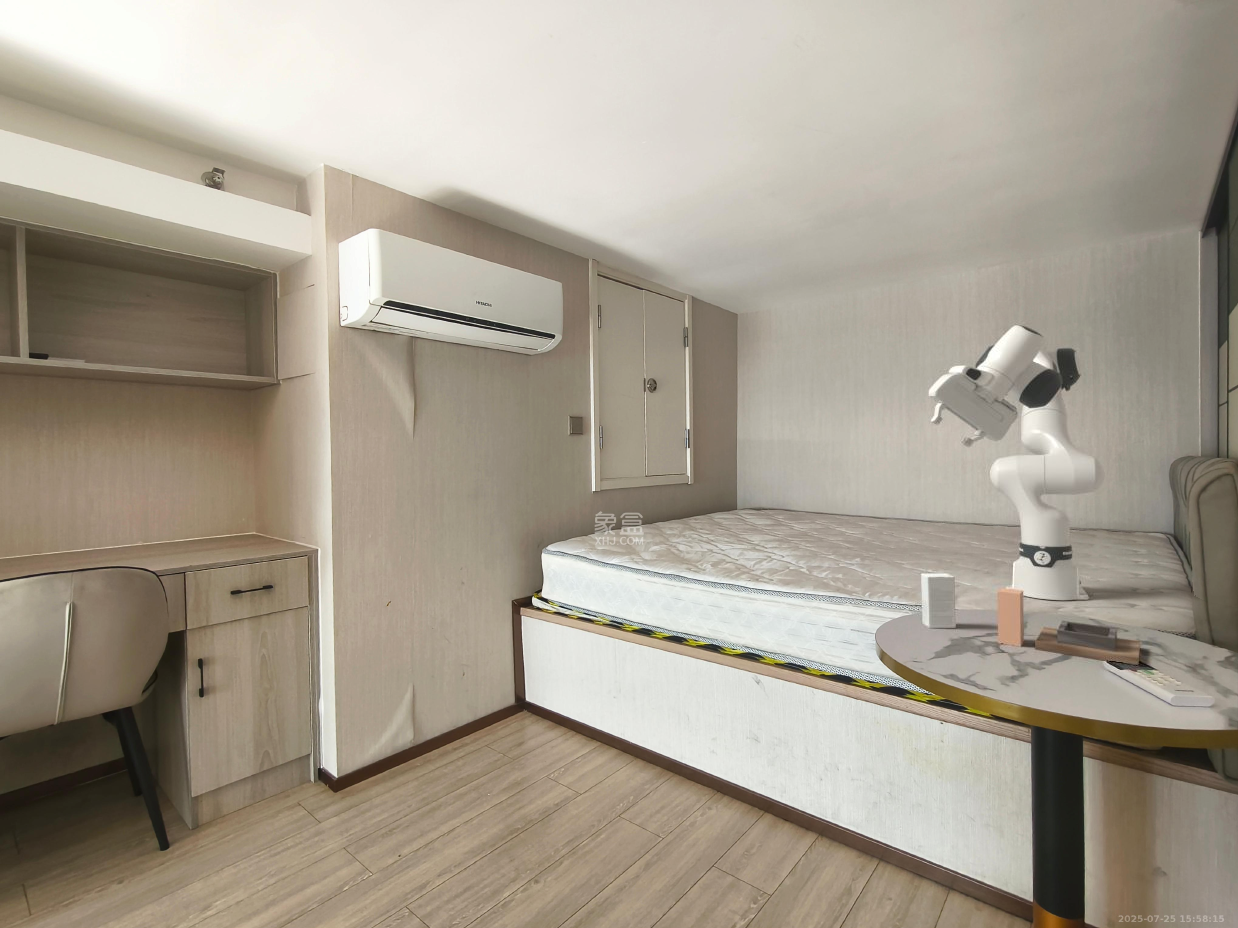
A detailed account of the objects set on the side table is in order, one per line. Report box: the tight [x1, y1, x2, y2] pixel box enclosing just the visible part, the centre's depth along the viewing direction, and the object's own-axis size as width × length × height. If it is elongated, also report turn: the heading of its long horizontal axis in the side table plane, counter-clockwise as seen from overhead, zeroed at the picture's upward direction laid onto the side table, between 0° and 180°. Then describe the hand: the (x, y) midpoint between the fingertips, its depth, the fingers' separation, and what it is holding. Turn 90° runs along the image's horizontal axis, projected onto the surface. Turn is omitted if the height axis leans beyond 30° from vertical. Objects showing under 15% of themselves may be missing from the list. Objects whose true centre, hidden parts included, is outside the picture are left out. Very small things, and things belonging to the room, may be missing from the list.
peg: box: [997, 587, 1025, 648], centre depth 127 cm, size 4×4×11 cm
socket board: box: [1034, 620, 1141, 666], centre depth 122 cm, size 13×16×4 cm
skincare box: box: [920, 572, 957, 629], centre depth 140 cm, size 6×4×12 cm
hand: (949, 434), depth 145 cm, fingers open, 8 cm apart
